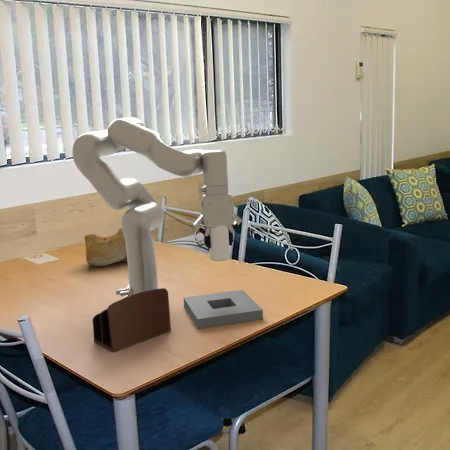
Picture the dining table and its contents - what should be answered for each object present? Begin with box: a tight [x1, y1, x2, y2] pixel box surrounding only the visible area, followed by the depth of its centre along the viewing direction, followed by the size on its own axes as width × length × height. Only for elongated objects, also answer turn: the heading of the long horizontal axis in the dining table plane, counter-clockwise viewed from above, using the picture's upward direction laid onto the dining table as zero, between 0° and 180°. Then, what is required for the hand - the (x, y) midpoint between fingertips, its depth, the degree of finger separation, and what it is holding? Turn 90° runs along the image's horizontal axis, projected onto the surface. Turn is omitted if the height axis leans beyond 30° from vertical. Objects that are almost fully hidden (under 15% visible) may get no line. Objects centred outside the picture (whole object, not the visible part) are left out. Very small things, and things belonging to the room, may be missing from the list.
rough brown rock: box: [84, 227, 127, 267], centre depth 244 cm, size 23×17×15 cm
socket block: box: [183, 289, 264, 329], centre depth 181 cm, size 20×20×3 cm
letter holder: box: [92, 287, 172, 353], centre depth 164 cm, size 10×20×14 cm, turn 132°
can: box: [208, 226, 231, 262], centre depth 184 cm, size 6×6×12 cm
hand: (219, 245), depth 184 cm, fingers closed on can, 6 cm apart
